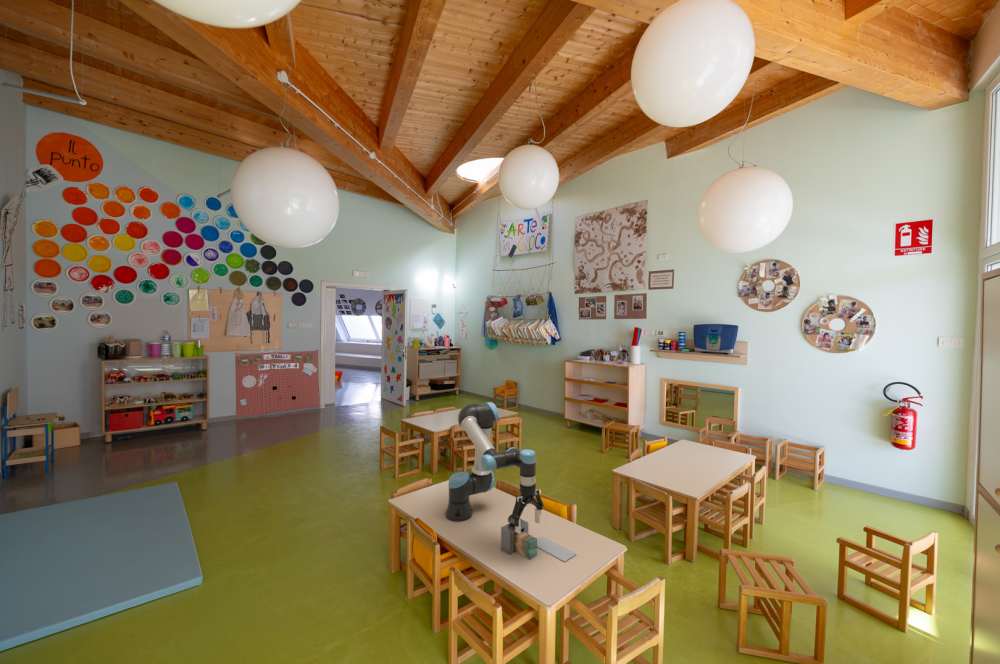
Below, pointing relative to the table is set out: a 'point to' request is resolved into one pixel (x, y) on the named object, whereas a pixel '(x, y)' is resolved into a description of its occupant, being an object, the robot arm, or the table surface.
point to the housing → (510, 534)
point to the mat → (554, 549)
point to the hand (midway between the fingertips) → (527, 527)
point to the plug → (525, 544)
